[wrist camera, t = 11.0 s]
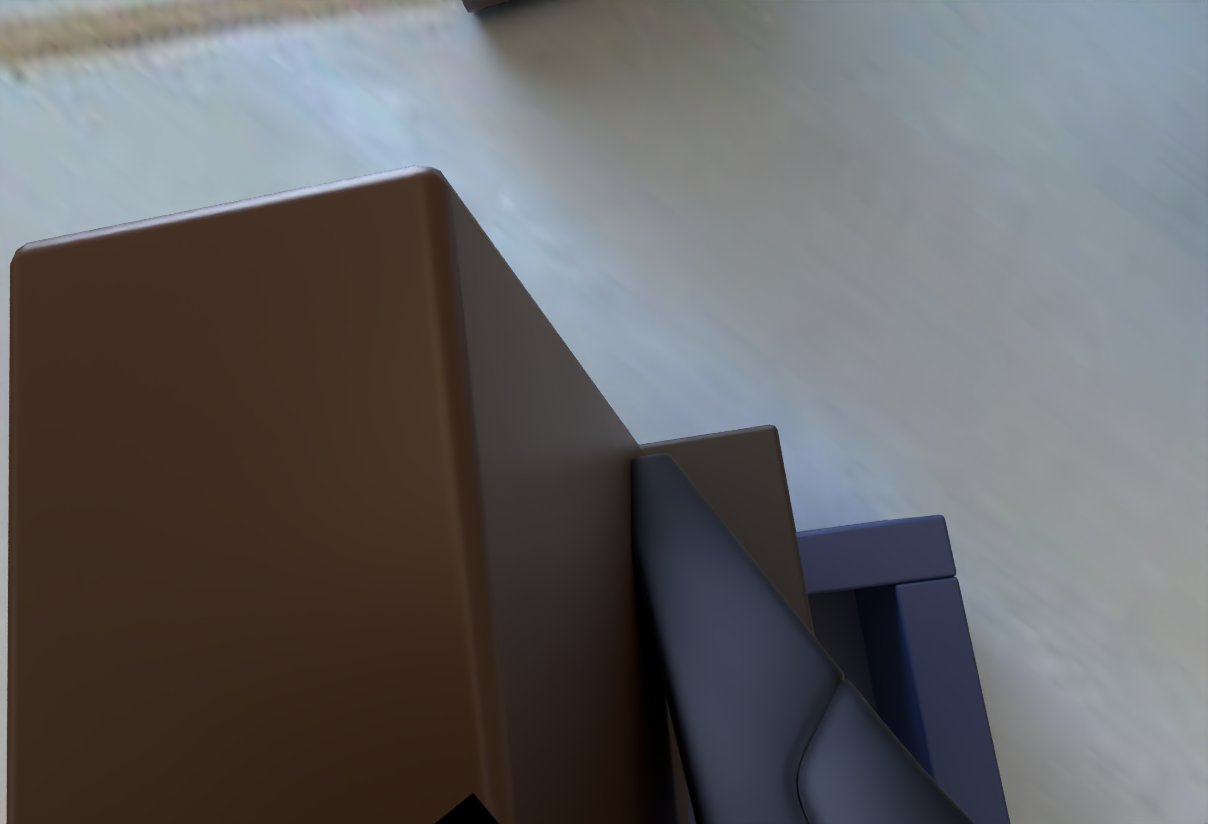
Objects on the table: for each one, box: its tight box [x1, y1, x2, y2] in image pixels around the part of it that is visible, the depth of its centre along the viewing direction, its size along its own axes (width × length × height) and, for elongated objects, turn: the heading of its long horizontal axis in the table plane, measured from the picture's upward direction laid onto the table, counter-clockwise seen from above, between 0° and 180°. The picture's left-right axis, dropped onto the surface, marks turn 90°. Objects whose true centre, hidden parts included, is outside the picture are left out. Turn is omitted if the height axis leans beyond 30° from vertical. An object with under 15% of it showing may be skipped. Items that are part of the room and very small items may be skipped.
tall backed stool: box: [7, 165, 815, 824], centre depth 8 cm, size 4×5×12 cm
